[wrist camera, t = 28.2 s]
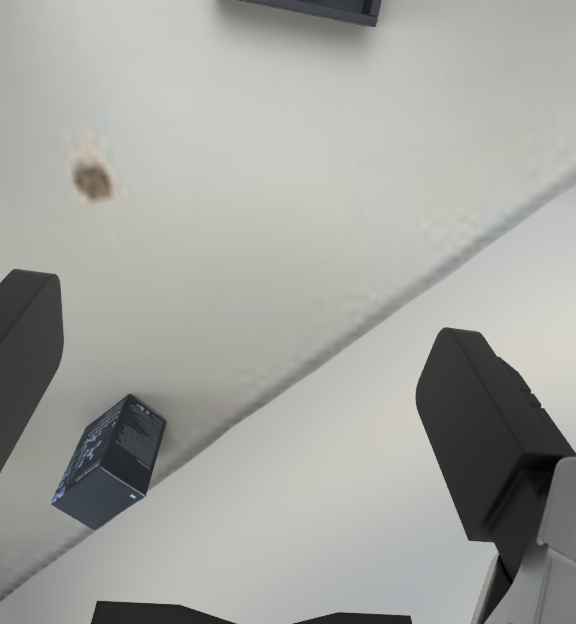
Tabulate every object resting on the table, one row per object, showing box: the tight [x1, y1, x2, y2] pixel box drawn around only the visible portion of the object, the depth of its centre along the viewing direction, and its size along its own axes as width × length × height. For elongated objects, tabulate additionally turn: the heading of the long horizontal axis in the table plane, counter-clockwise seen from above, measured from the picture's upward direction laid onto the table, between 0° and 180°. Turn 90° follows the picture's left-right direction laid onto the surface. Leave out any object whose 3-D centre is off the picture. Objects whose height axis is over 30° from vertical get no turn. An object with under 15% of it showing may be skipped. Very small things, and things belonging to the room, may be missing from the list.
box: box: [51, 394, 166, 530], centre depth 52 cm, size 8×6×11 cm
